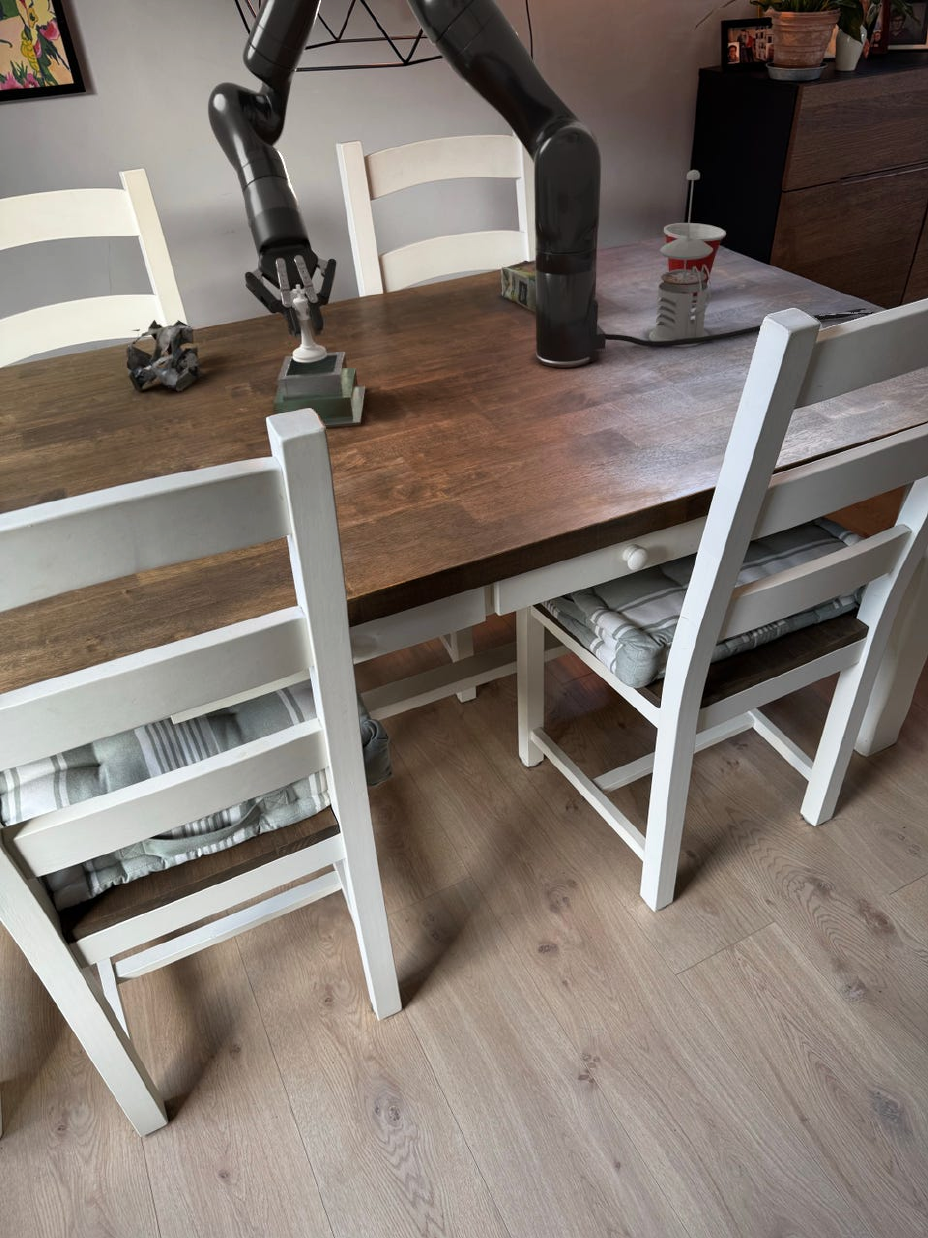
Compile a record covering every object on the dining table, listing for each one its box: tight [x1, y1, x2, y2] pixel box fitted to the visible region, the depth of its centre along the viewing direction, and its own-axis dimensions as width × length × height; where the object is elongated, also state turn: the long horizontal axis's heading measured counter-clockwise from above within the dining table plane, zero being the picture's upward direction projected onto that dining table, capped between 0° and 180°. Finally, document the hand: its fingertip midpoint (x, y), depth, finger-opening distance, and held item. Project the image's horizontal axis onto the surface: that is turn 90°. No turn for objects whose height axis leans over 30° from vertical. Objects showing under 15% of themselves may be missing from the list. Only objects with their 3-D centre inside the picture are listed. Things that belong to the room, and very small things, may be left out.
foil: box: [125, 319, 204, 393], centre depth 140 cm, size 12×11×15 cm
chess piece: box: [291, 285, 328, 363], centre depth 120 cm, size 5×5×10 cm
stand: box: [272, 351, 366, 429], centre depth 126 cm, size 13×13×7 cm
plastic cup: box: [663, 222, 727, 303], centre depth 154 cm, size 11×11×12 cm
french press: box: [648, 169, 713, 348], centre depth 134 cm, size 10×12×25 cm
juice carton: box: [500, 259, 536, 314], centre depth 158 cm, size 20×10×6 cm, turn 27°
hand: (308, 333), depth 119 cm, fingers closed on chess piece
